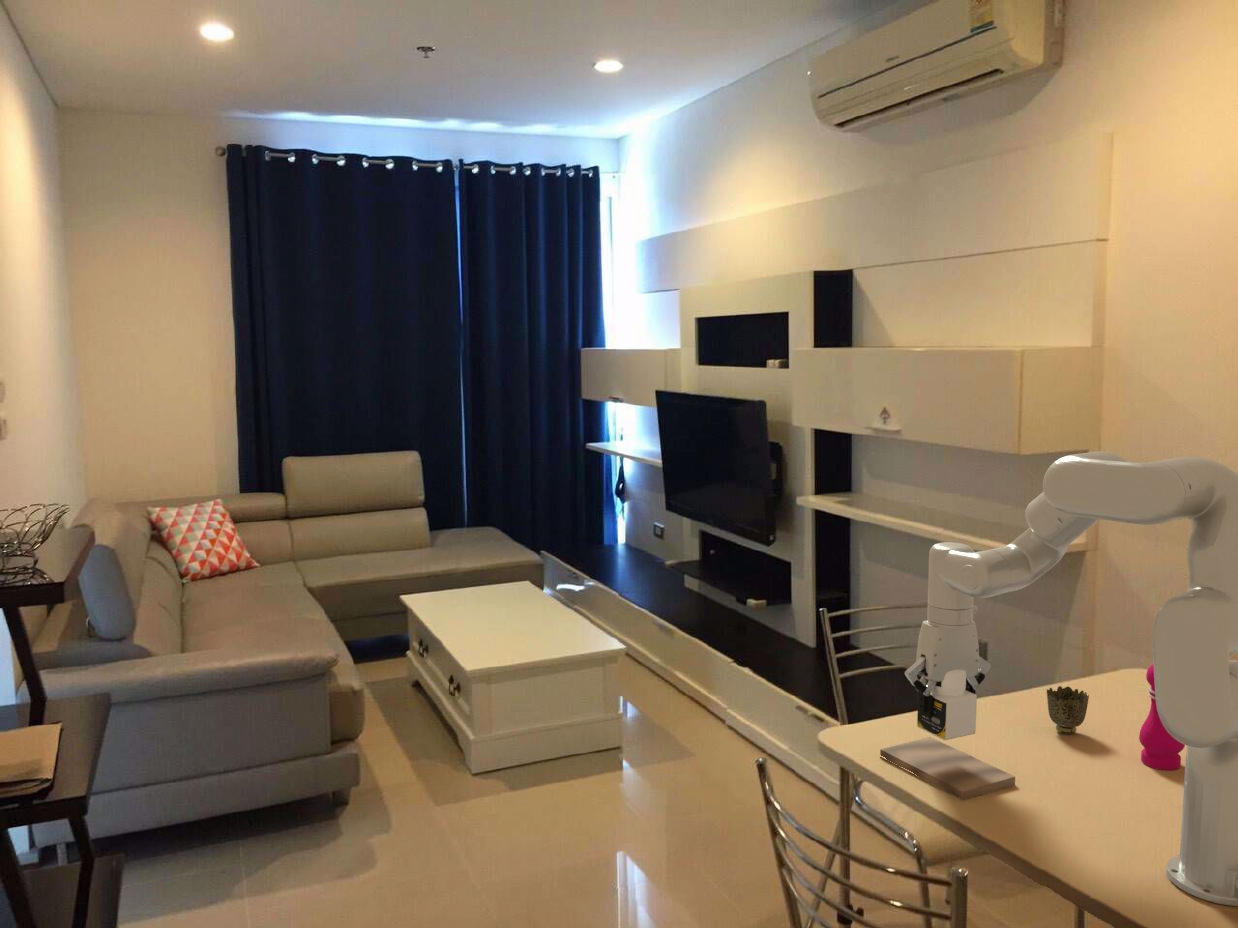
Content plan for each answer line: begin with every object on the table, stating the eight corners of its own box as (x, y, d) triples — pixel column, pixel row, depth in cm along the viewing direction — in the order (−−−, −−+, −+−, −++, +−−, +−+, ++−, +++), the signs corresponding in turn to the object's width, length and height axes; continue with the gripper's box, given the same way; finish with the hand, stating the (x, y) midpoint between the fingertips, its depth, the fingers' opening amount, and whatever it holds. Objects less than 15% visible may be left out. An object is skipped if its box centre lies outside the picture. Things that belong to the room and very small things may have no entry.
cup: (1062, 741, 194) (1064, 700, 193) (1036, 727, 201) (1038, 688, 200) (1095, 737, 196) (1097, 696, 195) (1069, 723, 203) (1071, 684, 202)
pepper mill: (1189, 773, 180) (1196, 661, 177) (1144, 770, 181) (1150, 659, 179) (1176, 756, 187) (1182, 649, 184) (1132, 753, 188) (1138, 647, 186)
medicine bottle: (916, 727, 183) (918, 661, 181) (947, 720, 186) (949, 655, 184) (944, 741, 177) (946, 673, 175) (976, 734, 180) (978, 667, 178)
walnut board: (1015, 784, 176) (1015, 776, 176) (963, 800, 171) (963, 791, 170) (929, 744, 194) (929, 736, 193) (880, 757, 188) (880, 749, 188)
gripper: (979, 605, 185) (976, 700, 187) (893, 613, 180) (891, 710, 182) (1006, 615, 177) (1002, 714, 180) (917, 624, 173) (914, 726, 175)
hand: (946, 712), depth 181 cm, fingers closed on medicine bottle, 7 cm apart
